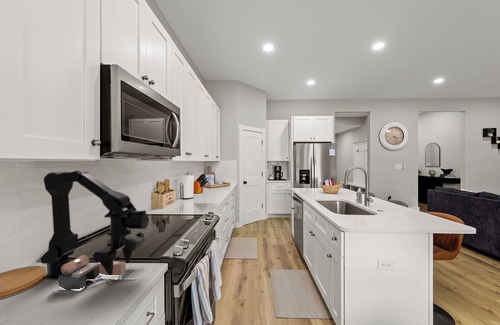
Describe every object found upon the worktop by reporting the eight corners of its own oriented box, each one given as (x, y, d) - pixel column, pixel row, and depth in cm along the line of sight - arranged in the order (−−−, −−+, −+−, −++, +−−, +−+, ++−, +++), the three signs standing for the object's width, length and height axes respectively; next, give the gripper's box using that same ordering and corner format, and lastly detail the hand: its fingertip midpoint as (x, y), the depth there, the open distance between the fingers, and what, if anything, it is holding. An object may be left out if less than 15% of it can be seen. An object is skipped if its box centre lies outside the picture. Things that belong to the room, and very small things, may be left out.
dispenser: (58, 290, 73) (58, 264, 73) (79, 277, 81) (79, 254, 81) (79, 291, 72) (79, 265, 72) (98, 278, 80) (98, 255, 80)
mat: (88, 278, 80) (88, 277, 80) (102, 269, 87) (102, 268, 87) (120, 280, 79) (120, 279, 79) (132, 271, 86) (132, 270, 86)
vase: (99, 262, 93) (99, 242, 93) (105, 256, 99) (105, 237, 99) (117, 260, 95) (117, 241, 95) (122, 254, 101) (122, 235, 101)
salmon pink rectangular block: (96, 274, 82) (96, 263, 82) (101, 271, 85) (101, 260, 85) (121, 276, 81) (121, 264, 81) (125, 272, 84) (125, 261, 84)
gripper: (121, 237, 72) (121, 284, 72) (152, 222, 91) (152, 258, 91) (91, 236, 74) (91, 282, 74) (128, 221, 92) (128, 257, 92)
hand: (119, 268), depth 83 cm, fingers open, 9 cm apart
